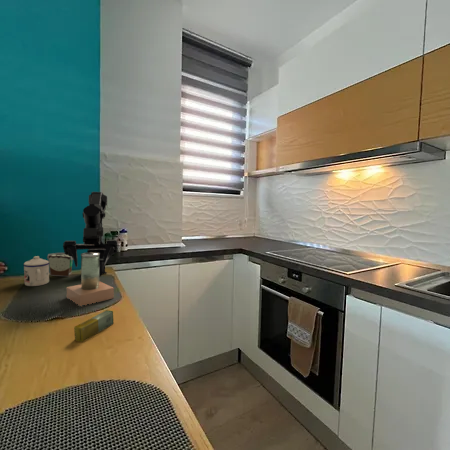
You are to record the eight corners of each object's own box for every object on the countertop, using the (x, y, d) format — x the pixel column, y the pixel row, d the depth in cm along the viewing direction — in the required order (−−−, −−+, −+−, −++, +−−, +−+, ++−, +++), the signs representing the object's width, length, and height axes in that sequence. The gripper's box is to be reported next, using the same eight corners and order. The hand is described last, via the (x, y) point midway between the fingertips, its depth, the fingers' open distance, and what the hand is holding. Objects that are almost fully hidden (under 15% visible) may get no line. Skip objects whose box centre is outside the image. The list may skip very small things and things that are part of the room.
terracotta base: (98, 290, 111) (98, 280, 111) (113, 298, 103) (113, 287, 103) (66, 297, 102) (66, 287, 101) (80, 306, 94) (80, 295, 94)
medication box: (106, 322, 84) (106, 309, 83) (114, 323, 83) (114, 310, 82) (73, 341, 72) (73, 326, 72) (82, 342, 71) (81, 328, 71)
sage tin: (89, 284, 106) (89, 251, 105) (103, 286, 104) (103, 253, 103) (76, 288, 100) (77, 254, 99) (91, 290, 98) (91, 255, 97)
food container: (80, 273, 134) (79, 253, 134) (71, 276, 128) (71, 255, 127) (56, 271, 136) (56, 251, 135) (47, 275, 129) (46, 254, 129)
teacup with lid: (23, 282, 118) (22, 255, 117) (48, 279, 123) (47, 253, 122) (25, 289, 108) (24, 261, 107) (52, 286, 114) (51, 258, 113)
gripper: (63, 219, 102) (57, 254, 92) (117, 220, 108) (117, 252, 99) (67, 237, 110) (62, 271, 100) (117, 236, 116) (117, 268, 107)
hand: (90, 265), depth 102 cm, fingers open, 9 cm apart
